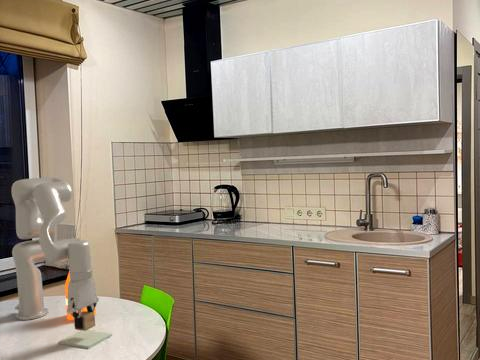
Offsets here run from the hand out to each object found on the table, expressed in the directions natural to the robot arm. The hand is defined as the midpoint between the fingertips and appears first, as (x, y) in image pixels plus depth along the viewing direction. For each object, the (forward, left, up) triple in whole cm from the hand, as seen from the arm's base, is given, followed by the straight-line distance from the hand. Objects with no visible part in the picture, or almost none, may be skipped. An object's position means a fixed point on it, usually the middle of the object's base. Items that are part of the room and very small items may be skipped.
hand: (84, 324), depth 175 cm
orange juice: (-20, +19, -6) cm, 28 cm away
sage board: (0, 0, -6) cm, 6 cm away
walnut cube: (0, 0, -1) cm, 1 cm away
